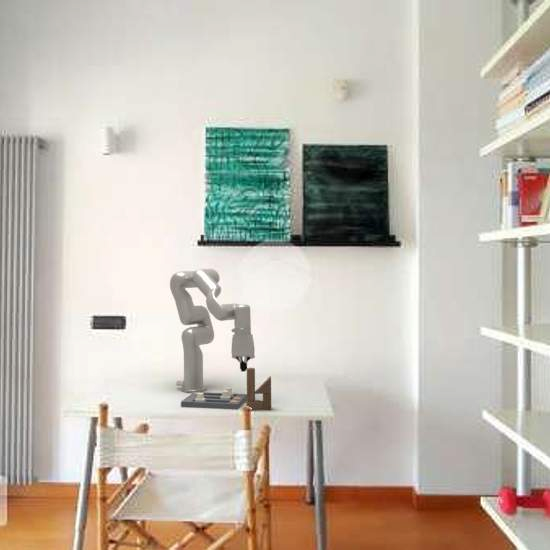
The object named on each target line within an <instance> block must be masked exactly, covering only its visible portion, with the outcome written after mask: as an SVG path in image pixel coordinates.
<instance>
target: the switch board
mask: <svg viewBox="0 0 550 550" xmlns="http://www.w3.org/2000/svg"><path fill="white" fill-rule="evenodd" d="M198 393H204V398H206V402H196V401H195V399H196V398H197V394H198ZM221 396H222V392H207V391H206V392H204V391H201V392H191V394H189V395H188V396H186V397H185V398H184V399H182V400H181V401H180V407H181V406H182V407H181V408H195V409H196V408H201V409H219V410H220V409H221V410H223V409H224V410H239V408H241V407H242V406H243V405H244V404H245V402H246V401H247V393H234V396H231V399H220V397H221Z"/></svg>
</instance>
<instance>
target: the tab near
mask: <svg viewBox="0 0 550 550" xmlns="http://www.w3.org/2000/svg"><path fill="white" fill-rule="evenodd" d="M195 401H196V402H206V398H204V393H198V394H197V398H196V399H195Z"/></svg>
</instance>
